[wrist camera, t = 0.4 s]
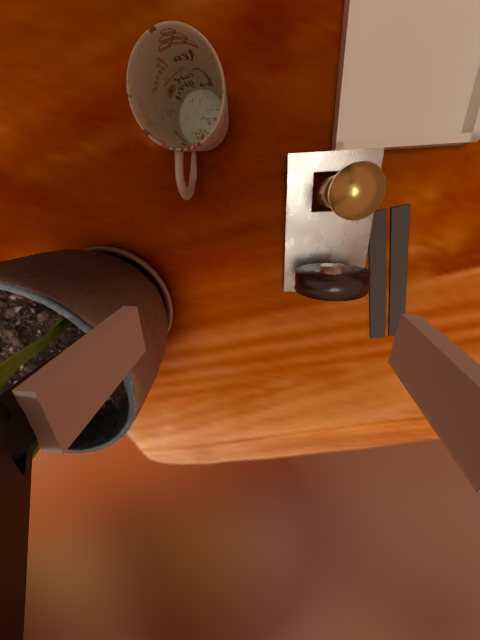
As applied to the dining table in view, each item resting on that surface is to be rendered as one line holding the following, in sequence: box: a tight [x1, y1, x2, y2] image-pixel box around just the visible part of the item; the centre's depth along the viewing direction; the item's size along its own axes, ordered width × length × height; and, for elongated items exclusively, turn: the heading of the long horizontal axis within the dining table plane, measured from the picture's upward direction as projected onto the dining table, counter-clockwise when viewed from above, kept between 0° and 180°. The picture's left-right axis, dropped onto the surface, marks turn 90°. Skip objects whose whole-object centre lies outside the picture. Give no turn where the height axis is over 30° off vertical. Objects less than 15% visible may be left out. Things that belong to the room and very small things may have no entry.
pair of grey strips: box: [369, 204, 410, 338], centre depth 36 cm, size 18×5×1 cm, turn 12°
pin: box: [314, 161, 387, 221], centre depth 26 cm, size 4×4×13 cm
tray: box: [331, 0, 480, 151], centre depth 25 cm, size 16×14×2 cm
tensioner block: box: [283, 148, 384, 301], centre depth 29 cm, size 16×10×11 cm, turn 2°
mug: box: [126, 21, 229, 200], centre depth 27 cm, size 8×13×10 cm, turn 174°
